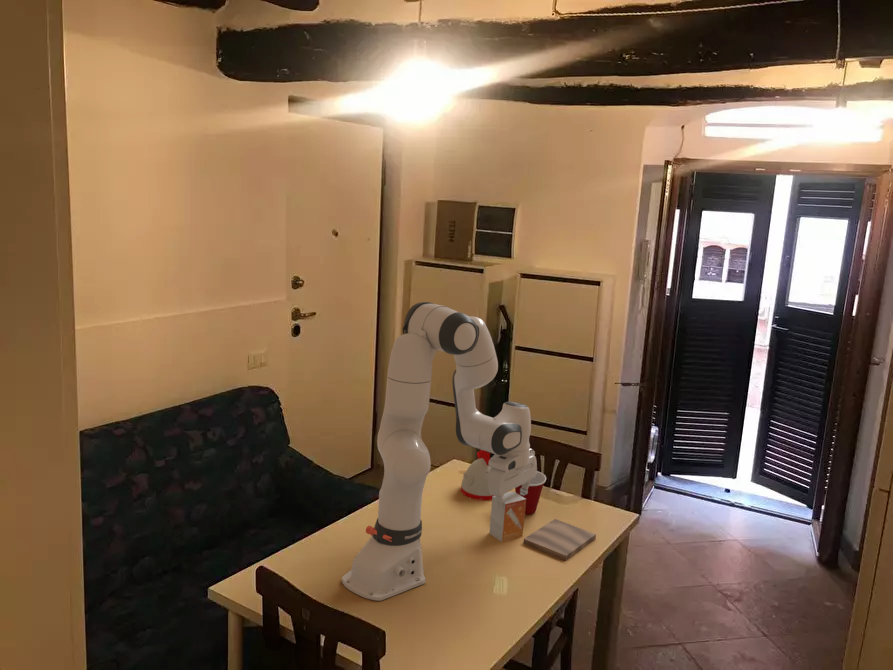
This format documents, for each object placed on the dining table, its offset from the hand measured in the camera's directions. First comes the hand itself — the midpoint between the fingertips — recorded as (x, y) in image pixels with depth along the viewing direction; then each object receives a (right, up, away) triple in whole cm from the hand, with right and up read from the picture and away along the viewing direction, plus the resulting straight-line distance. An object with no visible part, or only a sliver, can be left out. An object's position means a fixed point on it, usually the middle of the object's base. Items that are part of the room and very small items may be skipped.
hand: (512, 500), depth 216 cm
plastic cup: (+6, -8, +18) cm, 20 cm away
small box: (-2, -12, +2) cm, 12 cm away
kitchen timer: (-8, -4, +31) cm, 32 cm away
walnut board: (+14, -12, -1) cm, 18 cm away
